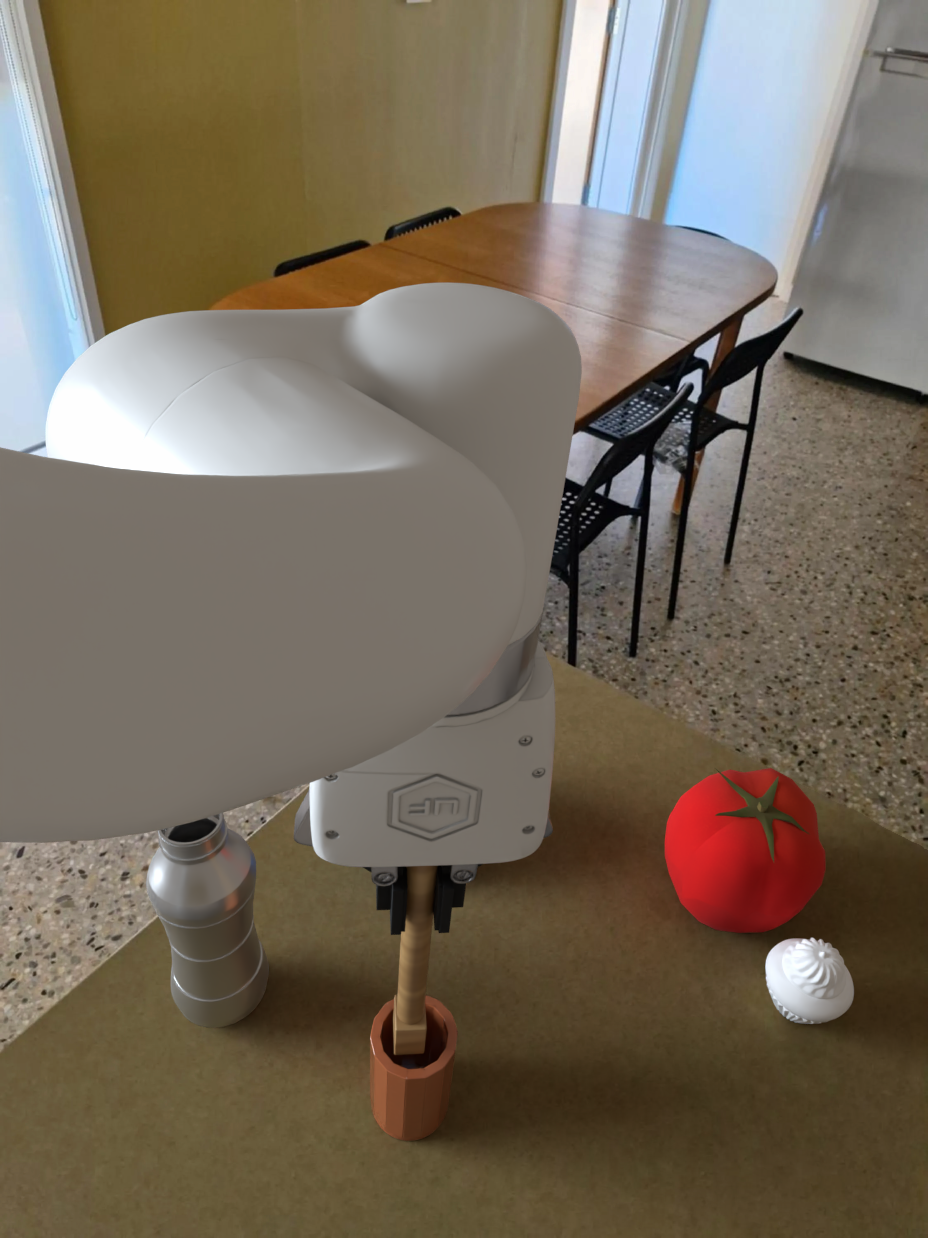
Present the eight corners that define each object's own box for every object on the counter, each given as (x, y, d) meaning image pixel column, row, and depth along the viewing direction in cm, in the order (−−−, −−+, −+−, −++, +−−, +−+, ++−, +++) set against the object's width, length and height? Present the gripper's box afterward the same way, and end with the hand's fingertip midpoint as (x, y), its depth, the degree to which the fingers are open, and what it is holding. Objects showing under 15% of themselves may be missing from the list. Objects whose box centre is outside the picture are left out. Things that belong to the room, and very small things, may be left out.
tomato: (621, 897, 73) (649, 806, 65) (698, 802, 81) (731, 712, 74) (759, 992, 67) (806, 904, 60) (827, 879, 75) (876, 790, 68)
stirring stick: (424, 1054, 53) (443, 859, 41) (394, 1056, 53) (405, 860, 41) (422, 1018, 55) (440, 821, 43) (393, 1019, 54) (403, 822, 42)
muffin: (742, 1015, 65) (769, 964, 61) (764, 950, 70) (791, 899, 65) (827, 1060, 63) (861, 1011, 59) (844, 991, 67) (878, 940, 63)
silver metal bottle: (166, 975, 65) (117, 798, 52) (256, 939, 67) (231, 762, 55) (188, 1056, 60) (141, 884, 48) (284, 1014, 63) (263, 841, 51)
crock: (452, 1138, 58) (461, 1076, 52) (370, 1144, 57) (370, 1082, 51) (446, 1057, 62) (454, 991, 56) (369, 1062, 61) (369, 995, 55)
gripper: (215, 701, 30) (254, 985, 41) (664, 697, 32) (582, 971, 43) (239, 570, 36) (267, 852, 47) (618, 574, 38) (556, 844, 49)
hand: (418, 907), depth 45 cm, fingers closed on stirring stick, 1 cm apart
